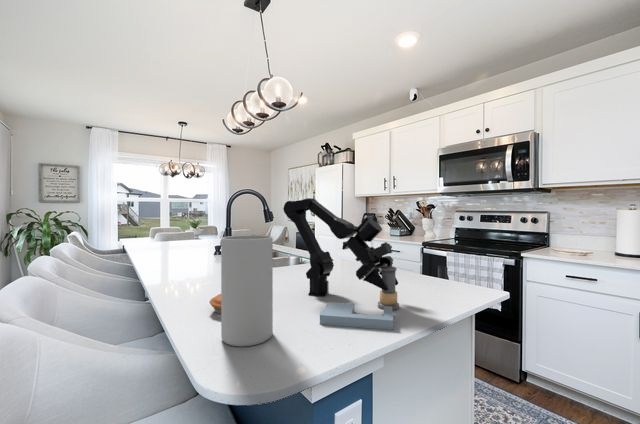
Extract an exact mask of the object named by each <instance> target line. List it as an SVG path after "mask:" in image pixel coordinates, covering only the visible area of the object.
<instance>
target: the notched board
mask: <svg viewBox="0 0 640 424" xmlns="http://www.w3.org/2000/svg"><path fill="white" fill-rule="evenodd" d="M393 312H394V311H393V310H392V306H384V310H383V315H377V314H376V315H374V314H364V313H362V314H361V313H355V303H348V302H347V303H346V302H345V303H343V302H333V301H327V303H326V304H325V306H324V307H323V309H322V311H321V312H320V314H319V325H329V326H341V327H353V328H367V329H379V330H390V331H391V330H394V313H393Z"/></svg>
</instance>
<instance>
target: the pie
mask: <svg viewBox="0 0 640 424" xmlns="http://www.w3.org/2000/svg"><path fill="white" fill-rule="evenodd" d="M209 304H210V305H211V307H213V309H214V310H215V312H216V314H218V315H220V316H221V293H220V294H217V295H216V296H214V297H212V298H211V299H210V300H209Z"/></svg>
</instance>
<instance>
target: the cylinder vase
mask: <svg viewBox="0 0 640 424" xmlns="http://www.w3.org/2000/svg"><path fill="white" fill-rule="evenodd" d="M273 240H274V239H273V236H272V235H263V234H262V235H260V234H259V235H257V234H254V235H248V234H246V235H231V236H230V235H229V236H223V237H221V238H220V241H221V242H220V244H221V245H220V250H221V253H220V255H221V257H220V259H221V261H220V262H221V264H220V265H221V267H220V269H221V270H220V271H221V273H220V274H221V276H220V277H221V279H220V280H221V282H220V284H221V285H220V286H221V288H220V289H221V291H220V292H221V293H220V294H221V315H220V319H221V320H220V321H221V323H220V324H221V328H220V329H221V331H220V333H221V340H222V341H223V342H224V343H225V344H227V345H229V346H233V347H251V346H256V345H260V344H263V343H265V342H266V341H267V340H269V339H270V338H271V337H272V335H273V333H274V332H273V331H274V327H273V326H274V324H273V321H274V319H273V318H274V317H273V316H274V315H273V314H274V313H273V312H274V309H273V304H274V302H273V300H274V299H273V296H274V294H273V293H274V292H273V290H274V289H273V284H274V283H273V282H274V281H273V278H274V277H273V276H274V275H273V274H274V273H273V271H274V270H273V265H274V264H273V263H274V262H273V258H274V257H273V254H274V253H273V252H274V251H273V247H274V246H273V244H274V242H273Z"/></svg>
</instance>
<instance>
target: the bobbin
mask: <svg viewBox="0 0 640 424" xmlns="http://www.w3.org/2000/svg"><path fill="white" fill-rule="evenodd" d="M381 270H382V276H381V278H382V279H383V281H384V282H385V284H386V285H387V287H388V290H387V291H385V290H383V289H381V290H379V301H378V302H377V307H378V309H380V310H383V311H384V306H392V310H393V312H394V311H398V310H399V309H400V303H399V302H398V291H396V285H395V277H396V271H397V267H395V266H392V267H391V266H383V267H381Z"/></svg>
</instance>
